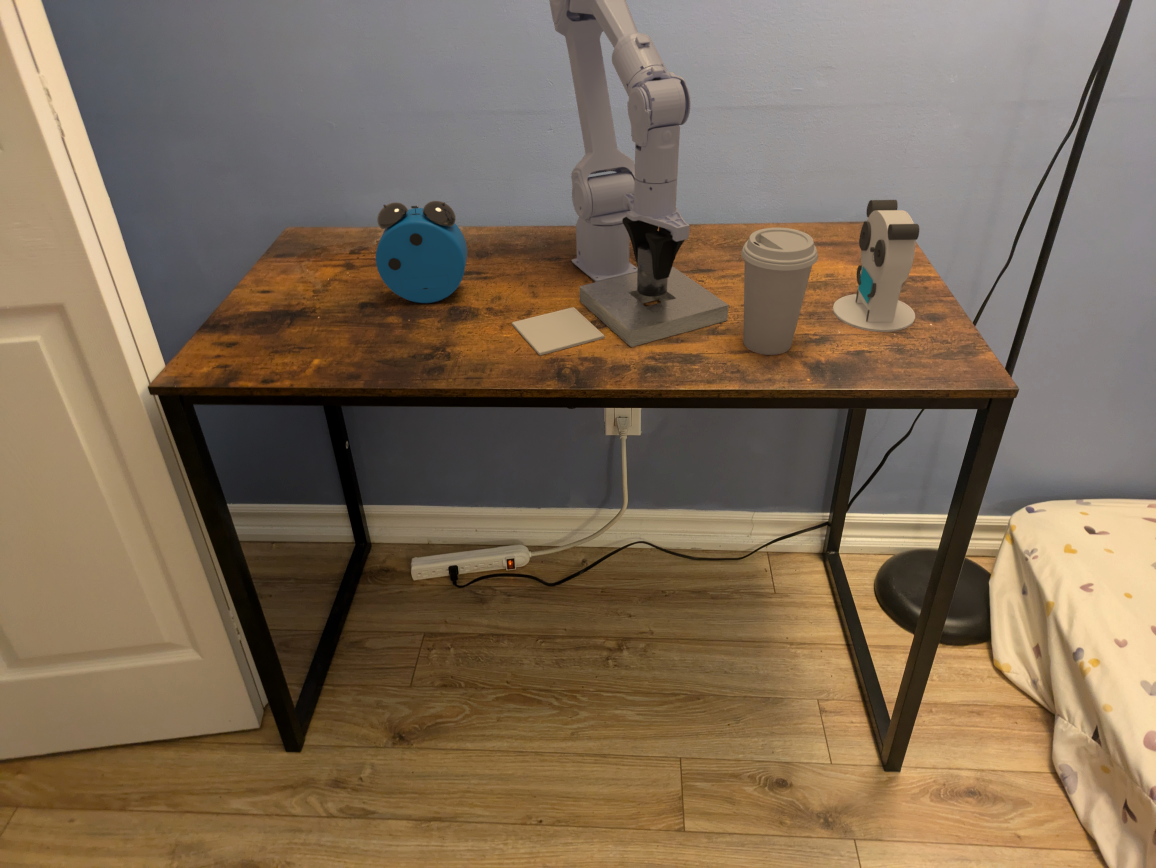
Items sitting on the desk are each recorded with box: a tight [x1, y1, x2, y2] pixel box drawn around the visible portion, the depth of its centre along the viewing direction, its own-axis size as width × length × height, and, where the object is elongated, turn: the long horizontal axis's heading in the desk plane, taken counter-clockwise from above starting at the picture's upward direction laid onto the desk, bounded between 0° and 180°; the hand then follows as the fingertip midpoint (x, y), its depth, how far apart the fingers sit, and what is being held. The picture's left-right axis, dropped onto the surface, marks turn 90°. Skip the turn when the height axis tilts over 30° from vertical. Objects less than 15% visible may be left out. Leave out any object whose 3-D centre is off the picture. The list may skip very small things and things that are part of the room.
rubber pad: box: [511, 306, 606, 356], centre depth 109 cm, size 10×10×1 cm
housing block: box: [578, 265, 730, 348], centre depth 113 cm, size 16×16×2 cm
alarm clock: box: [375, 200, 468, 304], centre depth 115 cm, size 13×6×15 cm, turn 92°
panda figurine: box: [832, 199, 920, 333], centre depth 107 cm, size 12×11×15 cm
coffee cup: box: [740, 227, 819, 356], centre depth 101 cm, size 10×10×15 cm
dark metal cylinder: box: [636, 242, 668, 297], centre depth 110 cm, size 4×4×6 cm
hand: (652, 271), depth 110 cm, fingers closed on dark metal cylinder, 4 cm apart
